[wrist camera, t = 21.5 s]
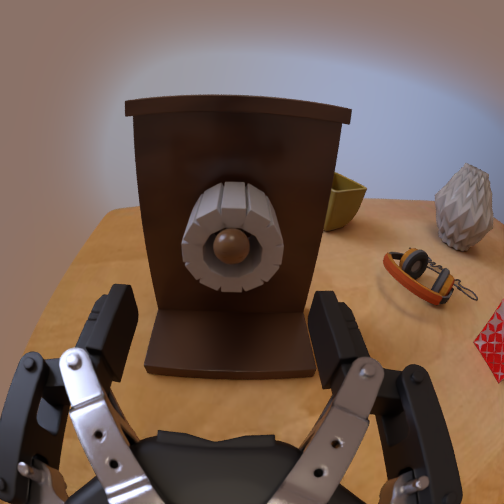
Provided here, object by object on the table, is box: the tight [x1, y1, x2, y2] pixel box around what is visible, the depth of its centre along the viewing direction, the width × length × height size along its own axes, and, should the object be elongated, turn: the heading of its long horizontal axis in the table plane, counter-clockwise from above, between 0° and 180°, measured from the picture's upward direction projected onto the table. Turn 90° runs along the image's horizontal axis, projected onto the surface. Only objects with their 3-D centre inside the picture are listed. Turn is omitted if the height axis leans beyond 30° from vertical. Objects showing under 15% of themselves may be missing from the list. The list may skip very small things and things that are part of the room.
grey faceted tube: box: [181, 182, 284, 292], centre depth 20 cm, size 7×5×7 cm
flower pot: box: [324, 172, 367, 231], centre depth 49 cm, size 9×9×9 cm
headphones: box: [383, 248, 478, 305], centre depth 35 cm, size 17×5×20 cm
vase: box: [435, 163, 493, 251], centre depth 45 cm, size 16×16×18 cm
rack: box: [125, 95, 352, 379], centre depth 21 cm, size 16×10×23 cm, turn 92°
